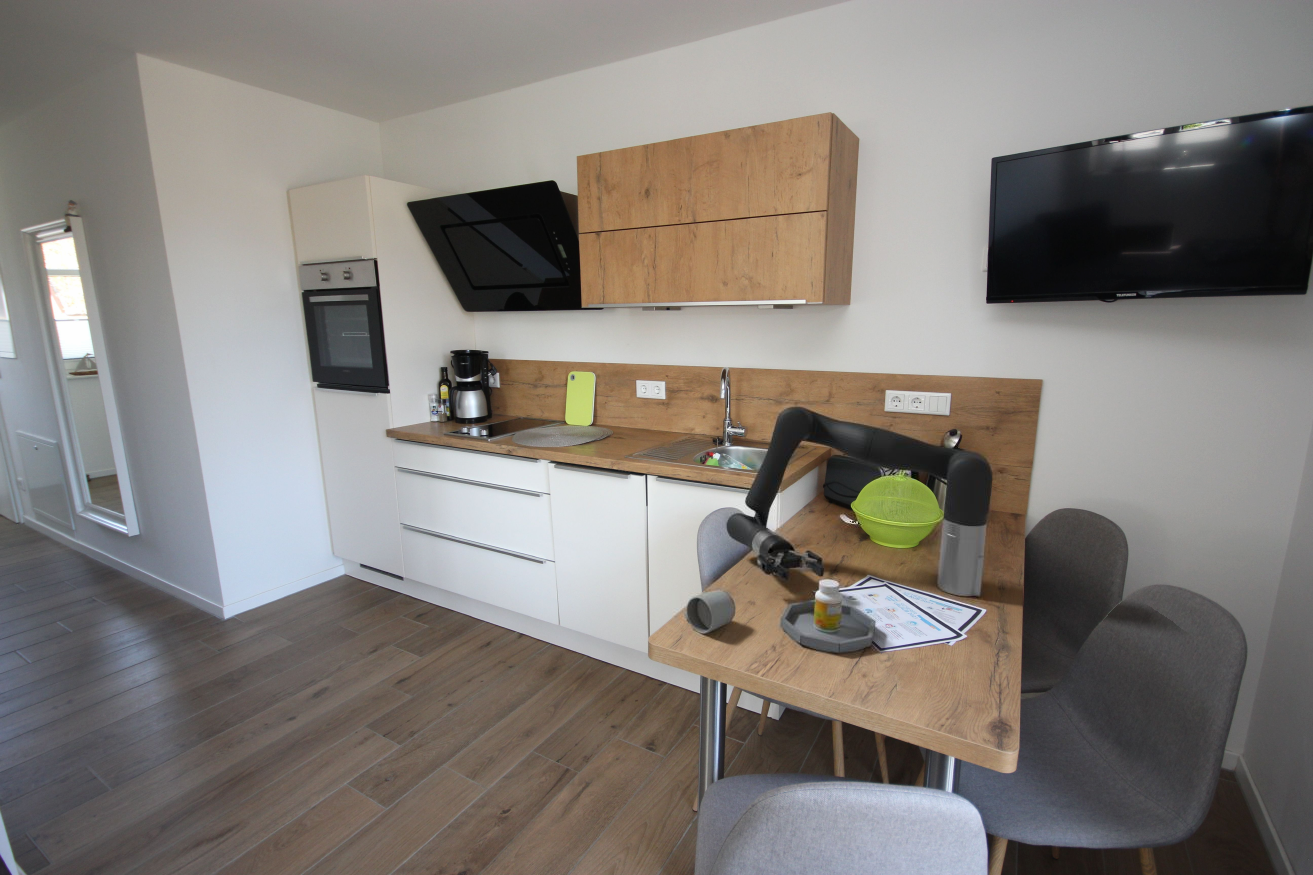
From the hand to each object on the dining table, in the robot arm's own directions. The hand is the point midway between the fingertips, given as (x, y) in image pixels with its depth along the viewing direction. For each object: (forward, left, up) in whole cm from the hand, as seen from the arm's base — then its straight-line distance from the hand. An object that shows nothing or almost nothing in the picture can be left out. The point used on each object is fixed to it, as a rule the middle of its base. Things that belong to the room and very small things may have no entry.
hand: (804, 574), depth 134 cm
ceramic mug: (+17, +16, -8) cm, 25 cm away
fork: (-7, -68, -9) cm, 69 cm away
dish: (-7, +8, -8) cm, 13 cm away
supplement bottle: (-6, +8, -8) cm, 13 cm away
